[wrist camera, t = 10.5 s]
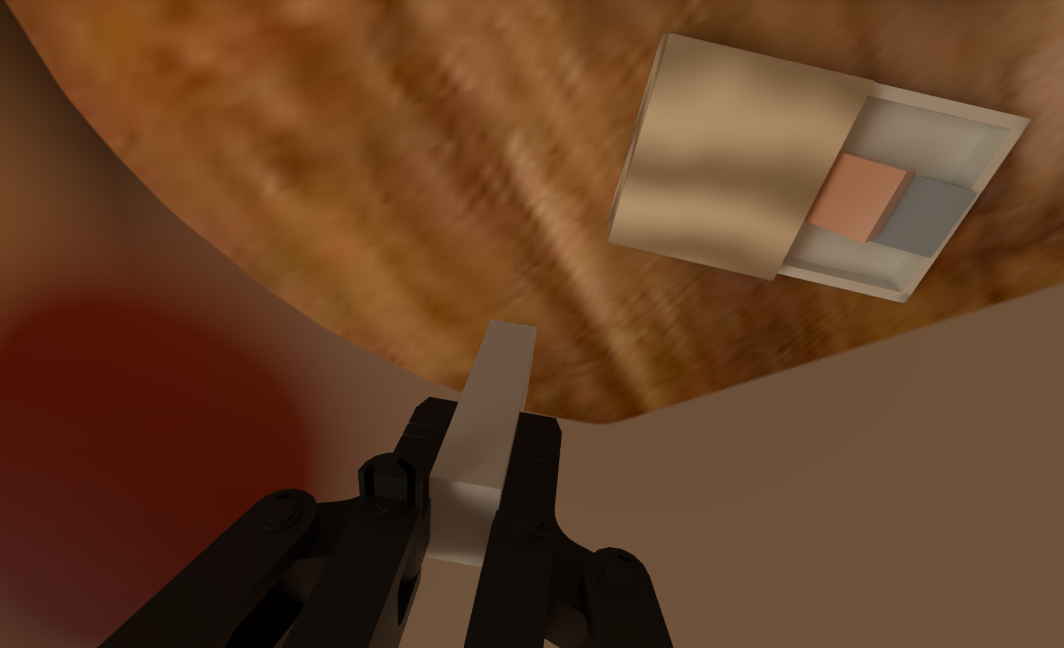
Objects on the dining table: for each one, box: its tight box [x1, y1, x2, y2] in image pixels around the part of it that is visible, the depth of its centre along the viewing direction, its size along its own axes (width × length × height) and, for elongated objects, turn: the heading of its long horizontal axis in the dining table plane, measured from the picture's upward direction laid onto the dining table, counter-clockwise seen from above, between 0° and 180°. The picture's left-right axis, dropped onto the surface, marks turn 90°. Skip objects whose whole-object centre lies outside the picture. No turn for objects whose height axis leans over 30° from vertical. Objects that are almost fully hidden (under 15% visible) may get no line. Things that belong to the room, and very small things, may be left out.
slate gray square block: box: [870, 173, 978, 258], centre depth 36 cm, size 5×5×3 cm
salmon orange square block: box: [804, 149, 917, 244], centre depth 35 cm, size 5×5×3 cm
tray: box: [777, 82, 1032, 303], centre depth 36 cm, size 14×12×3 cm
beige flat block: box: [607, 33, 875, 281], centre depth 36 cm, size 14×13×5 cm
